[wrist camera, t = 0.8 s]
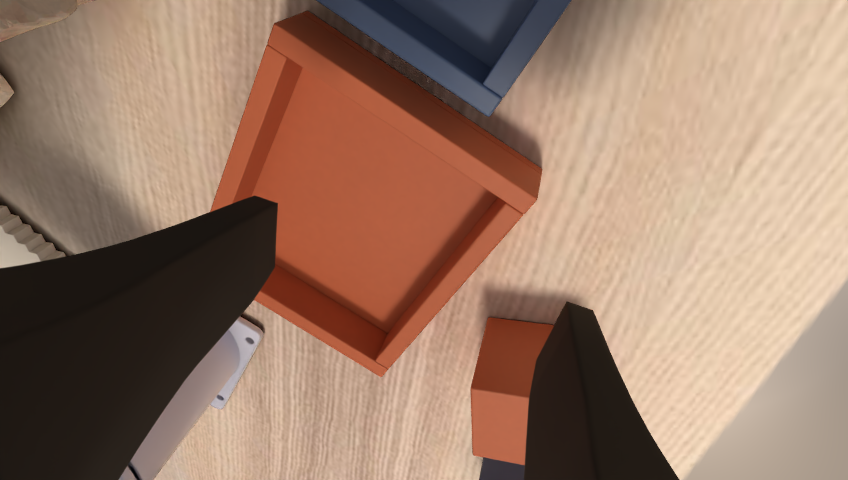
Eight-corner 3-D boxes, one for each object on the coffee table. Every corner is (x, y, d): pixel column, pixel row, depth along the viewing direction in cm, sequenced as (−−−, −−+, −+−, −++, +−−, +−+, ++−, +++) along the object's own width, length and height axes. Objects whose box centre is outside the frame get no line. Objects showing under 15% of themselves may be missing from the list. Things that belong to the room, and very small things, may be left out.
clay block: (576, 395, 26) (574, 476, 22) (488, 381, 27) (472, 456, 23) (585, 328, 23) (585, 407, 20) (487, 316, 24) (470, 388, 21)
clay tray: (396, 342, 27) (381, 377, 25) (222, 234, 26) (192, 262, 24) (543, 168, 20) (538, 199, 18) (307, 9, 19) (273, 22, 17)
